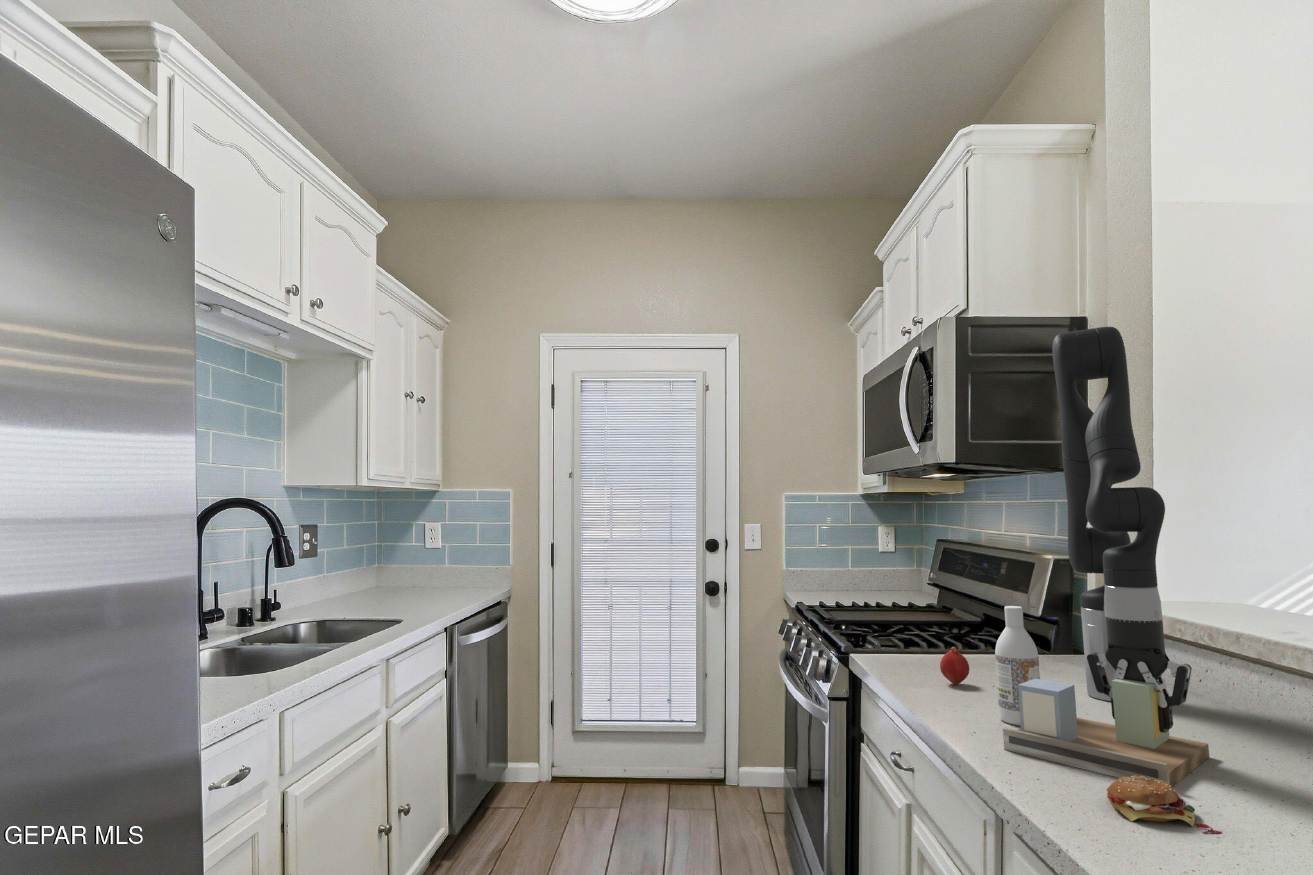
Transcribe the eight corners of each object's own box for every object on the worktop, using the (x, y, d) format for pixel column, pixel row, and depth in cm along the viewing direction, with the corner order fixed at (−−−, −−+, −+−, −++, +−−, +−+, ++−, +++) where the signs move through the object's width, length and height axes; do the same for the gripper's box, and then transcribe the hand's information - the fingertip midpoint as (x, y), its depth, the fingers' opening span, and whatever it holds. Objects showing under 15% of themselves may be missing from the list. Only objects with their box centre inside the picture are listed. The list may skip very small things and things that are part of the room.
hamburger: (1122, 840, 84) (1118, 786, 85) (1084, 793, 98) (1080, 747, 98) (1264, 851, 81) (1258, 796, 81) (1203, 801, 94) (1199, 754, 95)
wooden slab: (1055, 724, 126) (1054, 706, 126) (1209, 757, 109) (1207, 735, 109) (1003, 749, 114) (1001, 728, 114) (1167, 790, 97) (1165, 765, 97)
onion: (938, 681, 158) (936, 644, 159) (965, 681, 157) (963, 644, 158) (945, 688, 152) (942, 649, 153) (973, 688, 152) (971, 649, 152)
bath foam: (1029, 729, 124) (1021, 610, 126) (991, 720, 130) (984, 606, 131) (1050, 722, 128) (1042, 607, 130) (1013, 713, 133) (1005, 603, 135)
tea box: (1116, 740, 111) (1111, 680, 112) (1132, 731, 116) (1128, 673, 116) (1155, 748, 107) (1150, 686, 108) (1170, 738, 112) (1165, 678, 112)
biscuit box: (1038, 728, 118) (1034, 678, 118) (1078, 737, 113) (1074, 684, 114) (1020, 737, 114) (1017, 684, 115) (1061, 746, 109) (1057, 691, 110)
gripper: (1195, 617, 110) (1206, 732, 108) (1092, 608, 121) (1100, 713, 119) (1179, 623, 105) (1190, 743, 104) (1073, 613, 116) (1082, 722, 115)
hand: (1142, 726), depth 112 cm, fingers closed on tea box, 5 cm apart
